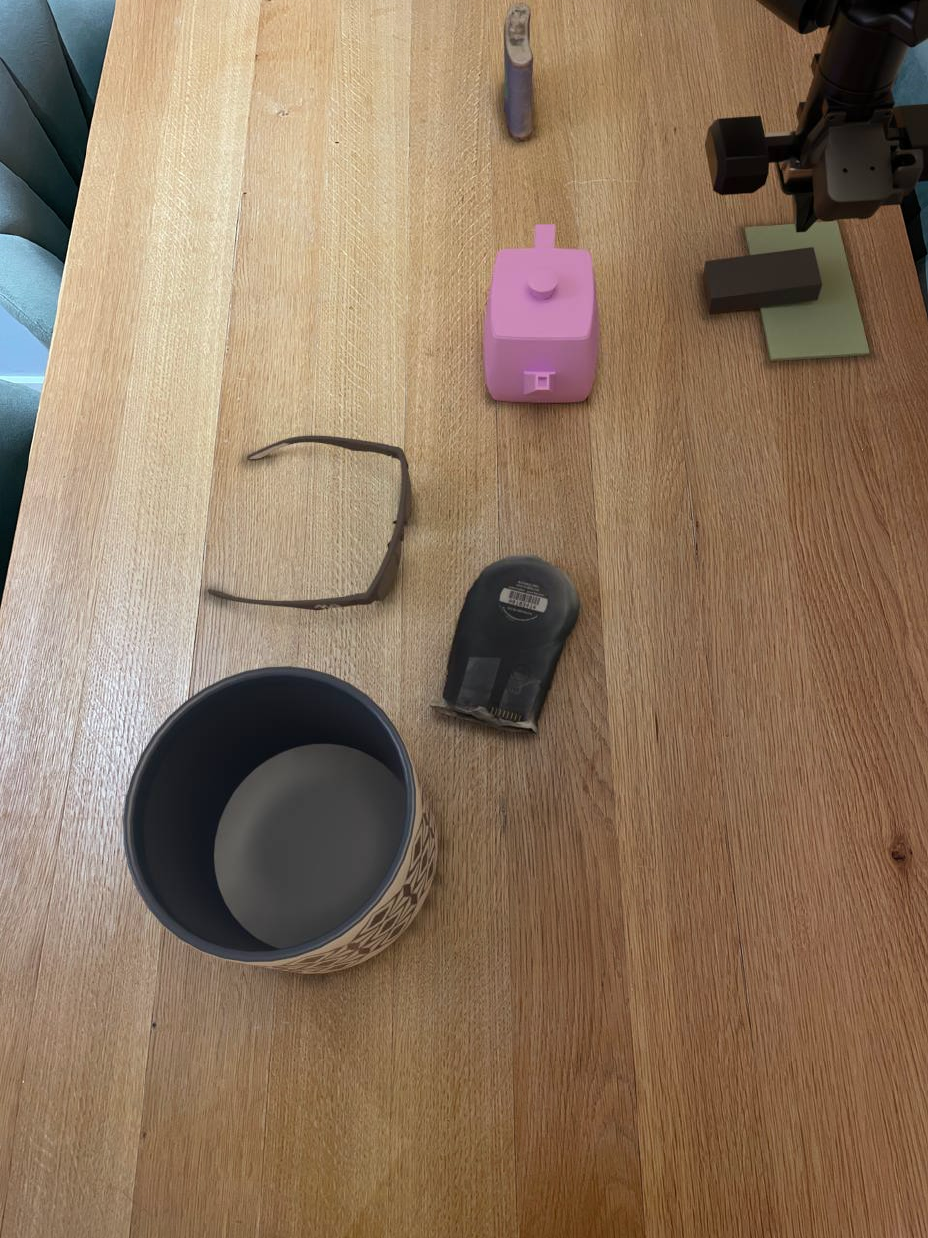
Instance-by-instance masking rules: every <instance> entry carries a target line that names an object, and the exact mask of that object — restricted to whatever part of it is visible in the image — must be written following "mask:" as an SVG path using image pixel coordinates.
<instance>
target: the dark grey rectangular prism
mask: <svg viewBox="0 0 928 1238" xmlns="http://www.w3.org/2000/svg"><path fill="white" fill-rule="evenodd" d="M702 279H703V284H704V291H705V297H706V302H707V308H708V314H716V313H725V312H734V311H740V310H741V311H743V310H750V309H757V308H759V309H760V307H767V306H775V305H783V304H791V303H799V302H807V301H815V300H818V297H819V294H820V290H821V287H822V280H821V276H820V272H819V268H818V263H817V259H816V255H815V250H814V247H809V248H801V249H793V250H786V251H778V252H770V253H763V254H755V255H749V254H747V255H741V256H740V255H739V256H733V257H725V258H718V259H717V258H716V259H709V260H705V261H704V266H703V275H702Z"/></svg>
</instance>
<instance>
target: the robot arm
mask: <svg viewBox="0 0 928 1238" xmlns="http://www.w3.org/2000/svg"><path fill="white" fill-rule="evenodd" d="M755 1H756V2H757V3H759V4H760V5H761V6H762V7H764V8H765V9H766V10H768V11H769V12H770V13H771V14H773V15H775V17H776V18H777V19H779V20H781V21H782V22H783V23H785V24H786V25H787V26H788V27H790V28H791V29H792V30H794V31H795V32H797V33H798V34H799V35H808V34H810V33H814V32H815V31H816V30H818V29H825V28H827V27H828V28H827V29H828V30H827V33H826V36H825V39H824V41H823V45H822V48H821V51H820V52H818V53H817V52H815V53H814V54H813V57H812V60H811V63H810V69H811V73H812V80H811V83H810V87H809V89H808V93H807V96H806V99H805V101H799V102H798V105H797V109H796V111H795V115H796V119H797V123H798V125H797V127H796V130H783V131H769V132H765V129H764V124H763V119H762V116H761V115H747V116H737V117H736V116H734V117H722V118H721V117H720V118H717V119H714V121H713V122H712V123H711V124H710V125H709V127H708V129H707V132H706V137H705V141H704V149H705V154H706V159H707V165H708V171H709V175H710V181H711V185H712V186H711V187H712V191H713V192H714V193H716V194H718V195H720V196H730V195H745V194H754V193H756V192H757V191H759V190H760V189H761V188H763V187H765V186H766V184H767V180H768V177H769V171H770V170H769V169H770V164H773V163H774V165H775V170H776V173H777V178H778V184H779V188H780V191H781V192H782V194H784V195H785V196H791V201H792V212H793V214H792V215H793V222H794V223H793V224H795V229H796V232H797V233H798V232H806V231H807V230H808V229H809V228H810V227H811V226H812V225H813V224H814V223H815V222H818V220H820V221H821V222H830V221H840V220H854V219H858V220H866V219H870V218H871V217H873V216H874V215H875V213H876V212H878V210H879V209H880V208H881V207H885V206H899V205H901V204H902V202H903V199H904V197H908V196H909V195H910V194H911V193H912V191H914V189H915V188H916V186H917V184H918V183H920V182H921V183H922V182H928V103H919V104H905V105H903V104H902V105H898V106H895V104H896V101H895V98H894V95H893V91H892V90H893V88H894V85H895V82H896V80H897V78H898V75H899V73H900V70H901V68H902V66H903V62H904V61H905V58H906V55H907V53H908V50H909V48H915V47H917V46H919V45H920V44H922V43H924V42H925V41H927V40H928V0H755ZM890 126H891V127H890Z"/></svg>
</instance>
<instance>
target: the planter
mask: <svg viewBox="0 0 928 1238" xmlns="http://www.w3.org/2000/svg"><path fill="white" fill-rule="evenodd" d="M136 763H137V764H136V765H135V768H134V770H133V772H132V775H131V778H130V782H129V784H128V789H127V791H126V795H125V801H124V810H123V817H122V835H123V836H122V837H123V848H124V854H125V859H126V864H127V868H128V871H129V875H130V876H131V879H132V882H133V884H134V887H135V890H136V891H137V893H138V894H139V896H140V898H141V899H142V902H143V903H144V905H145V906H146V909H147V910H148V911H149V912H150V913H151V914H152V915H153V917H154V918H155V919H156V920H157V921H158V923H160V925H161V926H162V927H163V928H164V929H166V930H167V931H168V932H169V933H170V934H171V935H173V936H174V937H176V938H177V940H179V941H181V942H182V943H183V944H186V945H188V946H189V947H191V948H193V949H195V950H197V951H199V952H200V953H203V954H206V955H208V956H212V957H214V958H218V959H221V960H224V961H228V962H231V963H237V964H243V965H249V966H253V967H259V968H265V969H272V970H278V971H282V972H283V971H284V972H290V973H296V974H297V973H298V974H304V975H305V974H326V973H332V972H338V971H342V970H346V969H348V968H351V967H354V966H358V965H360V964H362V963H364V962H366V961H367V960H369V959H371V958H373V957H375V956H376V955H378V954H380V953H381V952H383V951H384V950H385V949H387V948H388V947H389V946H390V945H391V944H393V943H394V942H395V941H396V940H397V939H398V938H399V937H401V935H402V934H403V933H404V932H405V930H407V929H408V928H409V927H410V925H411V924H412V922H413V921H414V920H415V918H416V916H417V915H418V913H419V912H420V911H421V909H422V907H423V905H424V903H425V900H426V899H427V897H428V895H429V892H430V890H431V886H432V883H433V880H434V876H435V875H436V868H437V861H438V855H439V853H438V852H439V851H438V849H439V845H438V843H439V842H438V841H439V839H438V838H439V836H438V835H439V834H438V828H437V822H436V817H435V816H436V815H435V812H434V809H433V806H432V803H431V800H430V797H429V794H428V793H427V790H426V787H425V785H424V783H423V781H422V778H421V775H420V773H419V770H418V769H417V766H416V764H415V762H414V759H413V757H412V755H411V753H410V751H409V748H408V746H407V745H406V743H405V741H404V739H403V737H402V735H401V733H400V731H399V729H398V728H397V726H396V725H395V723H394V722H393V720H392V719H391V717H390V716H389V715H388V714H387V712H386V711H385V710H384V708H382V707H381V705H379V704H378V703H377V702H376V701H375V700H374V699H373V698H372V697H371V696H369V695H368V694H367V693H366V692H364V691H363V690H361V689H360V688H358V687H357V686H355V685H354V684H353V683H351V682H349V681H347V680H344V679H342V678H340V677H338V676H335V675H334V674H332V673H328V672H324V671H321V670H317V669H313V668H309V667H308V668H307V667H299V666H291V665H286V666H285V665H283V666H282V665H281V666H265V667H260V668H259V667H258V668H254V669H249V670H244V671H242V672H239V673H238V672H237V673H235V674H232V675H229V676H227V677H223V678H222V679H219V680H217V681H216V682H213V683H212V684H210V685H208V686H206V687H204V688H202V689H201V690H199V691H198V692H196V693H195V694H193V695H192V696H190V697H189V698H188V699H186V700H184V702H182V704H181V705H179V706H178V707H177V708H176V709H175V710H174V711H173V712H172V713H170V715H169V716H168V717H167V718H166V719H165V720H164V721H163V723H162V724H161V725H160V726H159V728H157V730H156V731H155V732H154V733H153V734H152V737H151V738H150V740H149V741H148V743H147V744H146V746H145V748H144V749H143V751H142V752H141V754H140V757H139V759H138V761H137V762H136Z"/></svg>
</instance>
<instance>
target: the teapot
mask: <svg viewBox="0 0 928 1238" xmlns="http://www.w3.org/2000/svg"><path fill="white" fill-rule="evenodd" d="M555 241H556V224H555V223H553V224H549V223H547V224H546V223H537V224H536V223H535V228H534V243H533V247H524V248H502V249H500V250H498V252H497V255H496V257H495V260H494V265H493V268H492V269H493V270H492V275H491V280H490V284H489V290H488V296H487V302H486V308H485V314H484V315H485V316H484V326H483V362H484V363H483V364H484V367H483V368H484V375H485V382H486V386H487V389H488V392H489V394H490V396H491V397H492V399H493V400H495V401H499V402H508V403H509V402H510V403H512V402H513V403H535V404H536V403H537V404H540V403H541V404H546V403H547V404H559V403H560V404H562V403H563V404H564V403H565V404H567V403H581V402H584V401H585V400H586V399H587V398H588V397H589V395H590V393H591V391H592V388H593V384H594V380H595V376H596V370H597V363H598V353H599V344H600V343H599V340H600V338H599V337H600V336H599V335H600V319H599V318H600V315H599V304H598V303H599V302H598V295H597V287H596V286H597V285H596V277H595V271H594V266H593V265H594V264H593V258H592V255H591V253H590V251H589V250H587V249H582V248H559V247H557V248H556V247H555V243H556V242H555Z"/></svg>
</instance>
